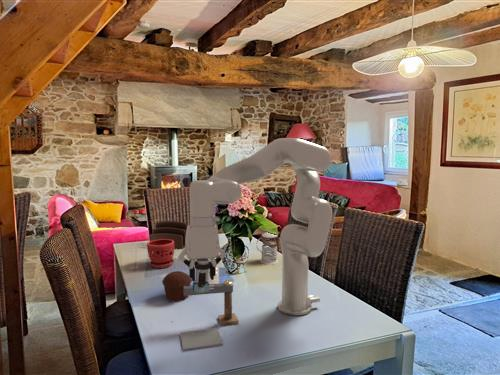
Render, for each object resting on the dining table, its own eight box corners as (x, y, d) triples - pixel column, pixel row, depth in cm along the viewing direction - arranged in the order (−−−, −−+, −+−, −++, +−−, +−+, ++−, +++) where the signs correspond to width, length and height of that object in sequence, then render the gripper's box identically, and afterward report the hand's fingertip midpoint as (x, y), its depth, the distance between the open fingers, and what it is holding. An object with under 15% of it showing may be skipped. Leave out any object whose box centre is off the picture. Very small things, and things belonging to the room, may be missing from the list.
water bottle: (222, 285, 165) (222, 228, 162) (210, 290, 160) (209, 231, 157) (211, 281, 169) (211, 226, 166) (199, 285, 165) (199, 228, 161)
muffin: (156, 300, 150) (155, 275, 149) (172, 289, 160) (171, 266, 159) (183, 305, 146) (182, 279, 144) (197, 294, 156) (197, 270, 155)
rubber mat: (216, 329, 127) (216, 327, 127) (223, 345, 118) (223, 343, 118) (180, 334, 124) (180, 332, 124) (183, 350, 114) (183, 348, 114)
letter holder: (156, 243, 231) (155, 220, 229) (188, 244, 228) (187, 221, 226) (149, 247, 221) (149, 223, 220) (182, 249, 218) (182, 225, 217)
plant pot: (172, 260, 199) (172, 237, 198) (176, 268, 187) (175, 244, 185) (146, 262, 195) (146, 239, 194) (148, 270, 183) (147, 246, 181)
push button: (210, 287, 122) (212, 256, 121) (216, 293, 118) (218, 261, 117) (190, 288, 120) (192, 257, 119) (194, 295, 115) (196, 262, 114)
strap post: (234, 315, 137) (234, 287, 136) (238, 323, 131) (238, 294, 130) (217, 317, 135) (217, 289, 134) (221, 325, 130) (221, 296, 128)
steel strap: (233, 292, 131) (233, 283, 130) (184, 296, 127) (183, 287, 127) (231, 288, 134) (231, 279, 133) (183, 292, 130) (183, 283, 130)
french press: (279, 264, 193) (280, 215, 190) (256, 264, 193) (256, 215, 190) (278, 258, 203) (279, 211, 199) (256, 258, 203) (256, 211, 200)
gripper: (227, 217, 122) (226, 272, 124) (172, 220, 117) (173, 277, 120) (232, 222, 115) (232, 281, 117) (175, 225, 110) (175, 286, 112)
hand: (202, 278), depth 118 cm, fingers closed on push button, 5 cm apart
